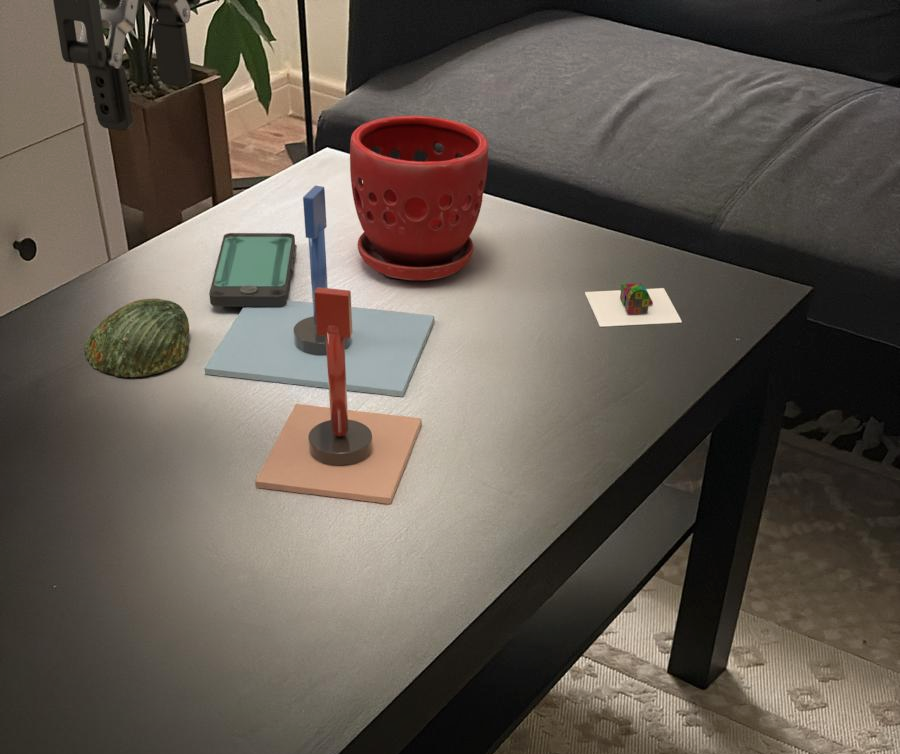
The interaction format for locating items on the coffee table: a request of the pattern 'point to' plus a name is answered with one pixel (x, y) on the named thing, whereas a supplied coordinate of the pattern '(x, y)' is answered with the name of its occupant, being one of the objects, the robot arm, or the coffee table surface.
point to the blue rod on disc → (314, 271)
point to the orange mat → (358, 481)
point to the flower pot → (417, 194)
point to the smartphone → (253, 269)
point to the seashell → (140, 339)
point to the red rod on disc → (337, 386)
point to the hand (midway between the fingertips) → (147, 105)
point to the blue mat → (367, 358)
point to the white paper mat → (632, 306)
